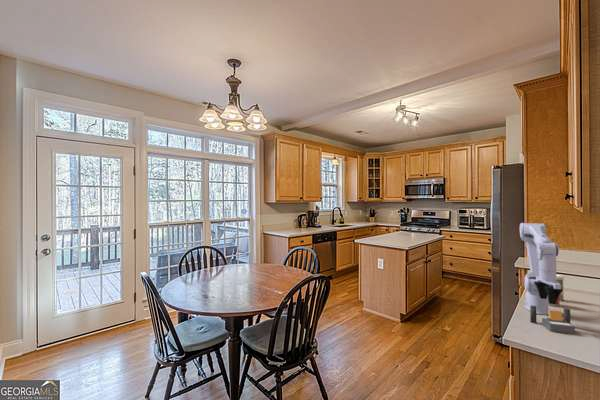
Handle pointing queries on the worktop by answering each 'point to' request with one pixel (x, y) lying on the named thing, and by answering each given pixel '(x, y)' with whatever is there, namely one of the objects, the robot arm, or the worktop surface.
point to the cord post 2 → (567, 315)
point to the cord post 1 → (533, 314)
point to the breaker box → (558, 326)
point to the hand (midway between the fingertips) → (547, 301)
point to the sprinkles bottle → (560, 280)
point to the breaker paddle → (555, 315)
